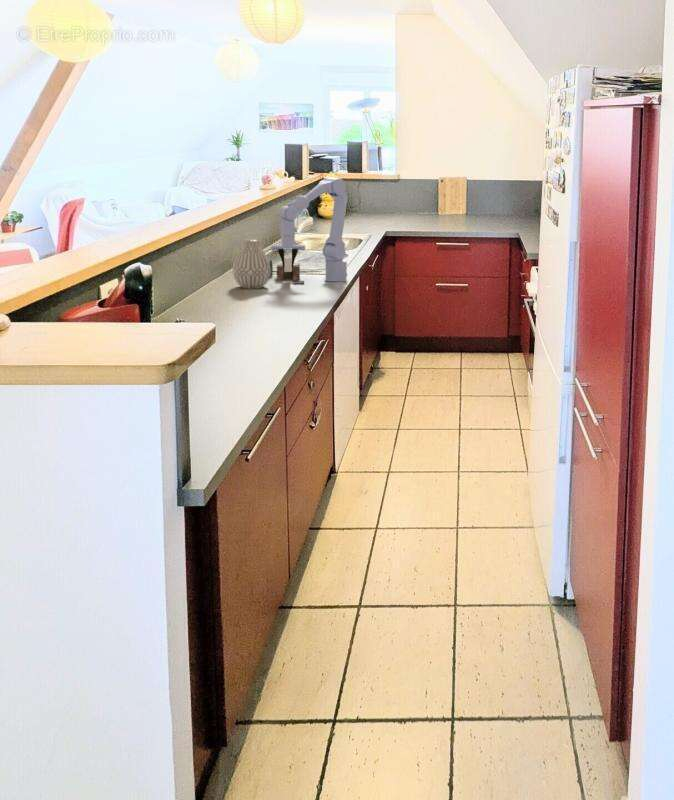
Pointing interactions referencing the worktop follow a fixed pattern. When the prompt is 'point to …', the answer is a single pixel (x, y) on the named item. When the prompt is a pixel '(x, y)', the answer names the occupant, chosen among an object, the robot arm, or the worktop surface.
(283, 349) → the worktop surface
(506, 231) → the worktop surface
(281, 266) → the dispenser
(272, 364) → the worktop surface
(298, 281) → the mat
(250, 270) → the vase
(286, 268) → the cream flat block piece
